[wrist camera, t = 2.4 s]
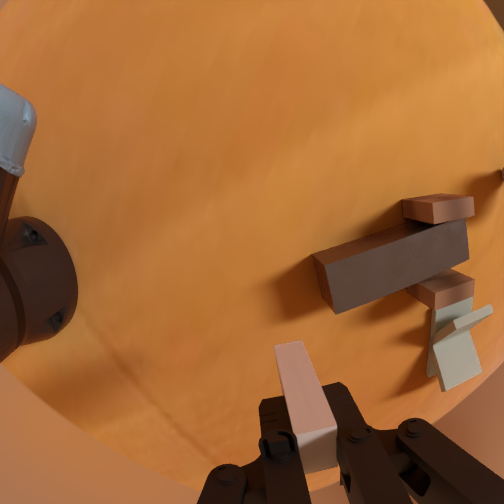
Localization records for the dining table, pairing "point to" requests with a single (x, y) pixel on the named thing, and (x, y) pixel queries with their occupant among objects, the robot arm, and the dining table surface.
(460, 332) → the grey flat angled part
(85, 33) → the dining table surface
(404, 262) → the steel bar
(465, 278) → the slot block
